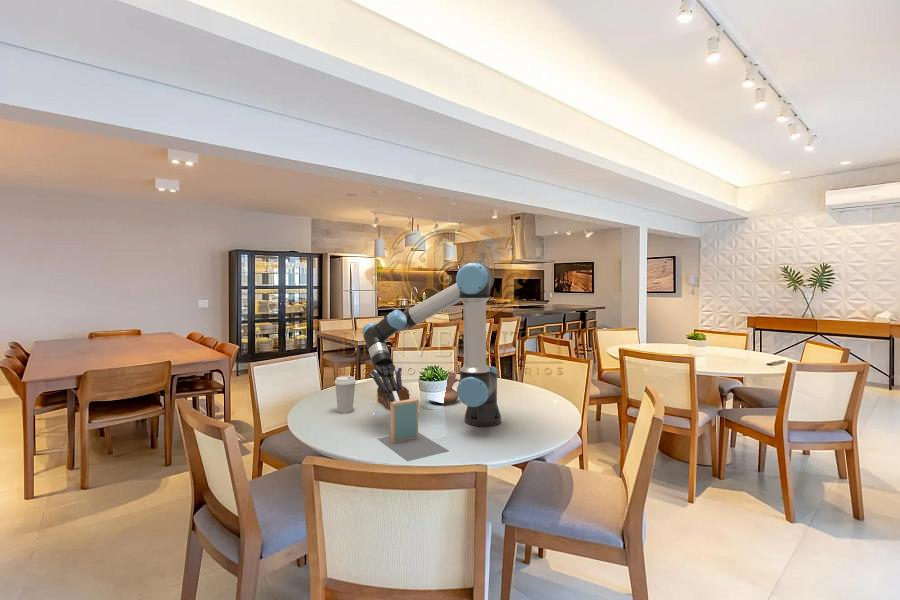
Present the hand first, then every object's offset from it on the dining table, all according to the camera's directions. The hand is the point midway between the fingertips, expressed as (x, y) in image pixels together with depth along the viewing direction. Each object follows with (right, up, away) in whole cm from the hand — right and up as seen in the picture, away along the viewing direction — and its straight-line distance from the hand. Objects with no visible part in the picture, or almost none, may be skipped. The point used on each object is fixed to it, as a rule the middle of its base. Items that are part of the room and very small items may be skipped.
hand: (398, 408), depth 159 cm
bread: (-8, -10, +46) cm, 48 cm away
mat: (+6, -11, -8) cm, 15 cm away
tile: (+2, -11, -3) cm, 11 cm away
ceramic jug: (+16, -10, +50) cm, 54 cm away
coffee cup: (-28, -10, +34) cm, 45 cm away
